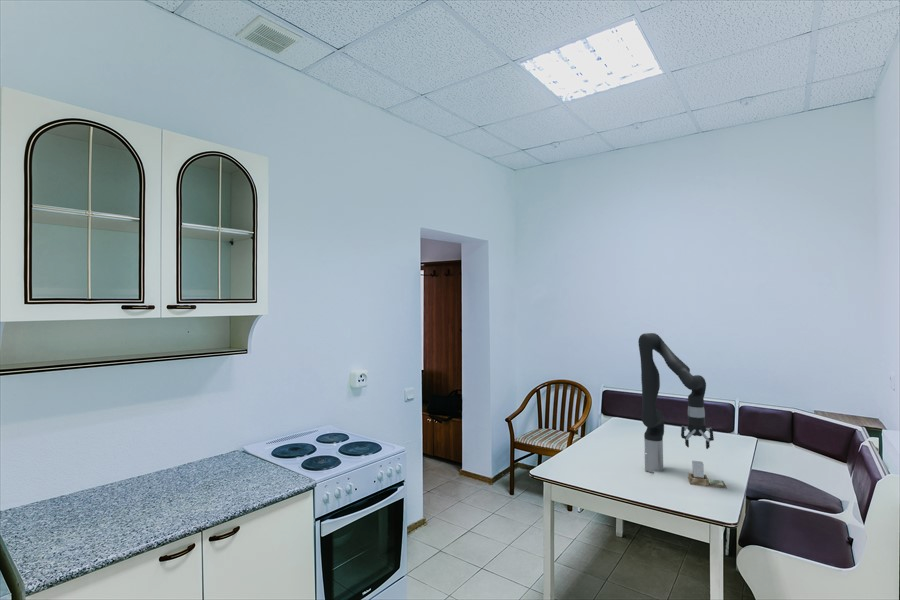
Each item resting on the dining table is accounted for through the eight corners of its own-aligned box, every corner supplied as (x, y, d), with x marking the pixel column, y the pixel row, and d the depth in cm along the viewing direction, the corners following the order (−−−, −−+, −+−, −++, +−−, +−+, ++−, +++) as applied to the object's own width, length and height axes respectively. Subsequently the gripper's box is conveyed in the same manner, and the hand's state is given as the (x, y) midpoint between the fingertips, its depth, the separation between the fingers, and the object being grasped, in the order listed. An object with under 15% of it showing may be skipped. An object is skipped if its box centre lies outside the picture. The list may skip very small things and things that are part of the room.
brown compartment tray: (690, 486, 222) (690, 478, 222) (687, 478, 232) (687, 470, 232) (727, 490, 216) (727, 482, 216) (723, 482, 226) (722, 474, 226)
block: (693, 483, 223) (693, 463, 223) (692, 480, 227) (692, 460, 227) (704, 484, 221) (703, 464, 221) (702, 481, 225) (702, 461, 225)
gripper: (681, 415, 224) (682, 448, 224) (713, 418, 219) (715, 451, 218) (679, 412, 231) (680, 444, 230) (711, 414, 226) (712, 447, 225)
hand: (697, 447), depth 224 cm, fingers open, 8 cm apart
